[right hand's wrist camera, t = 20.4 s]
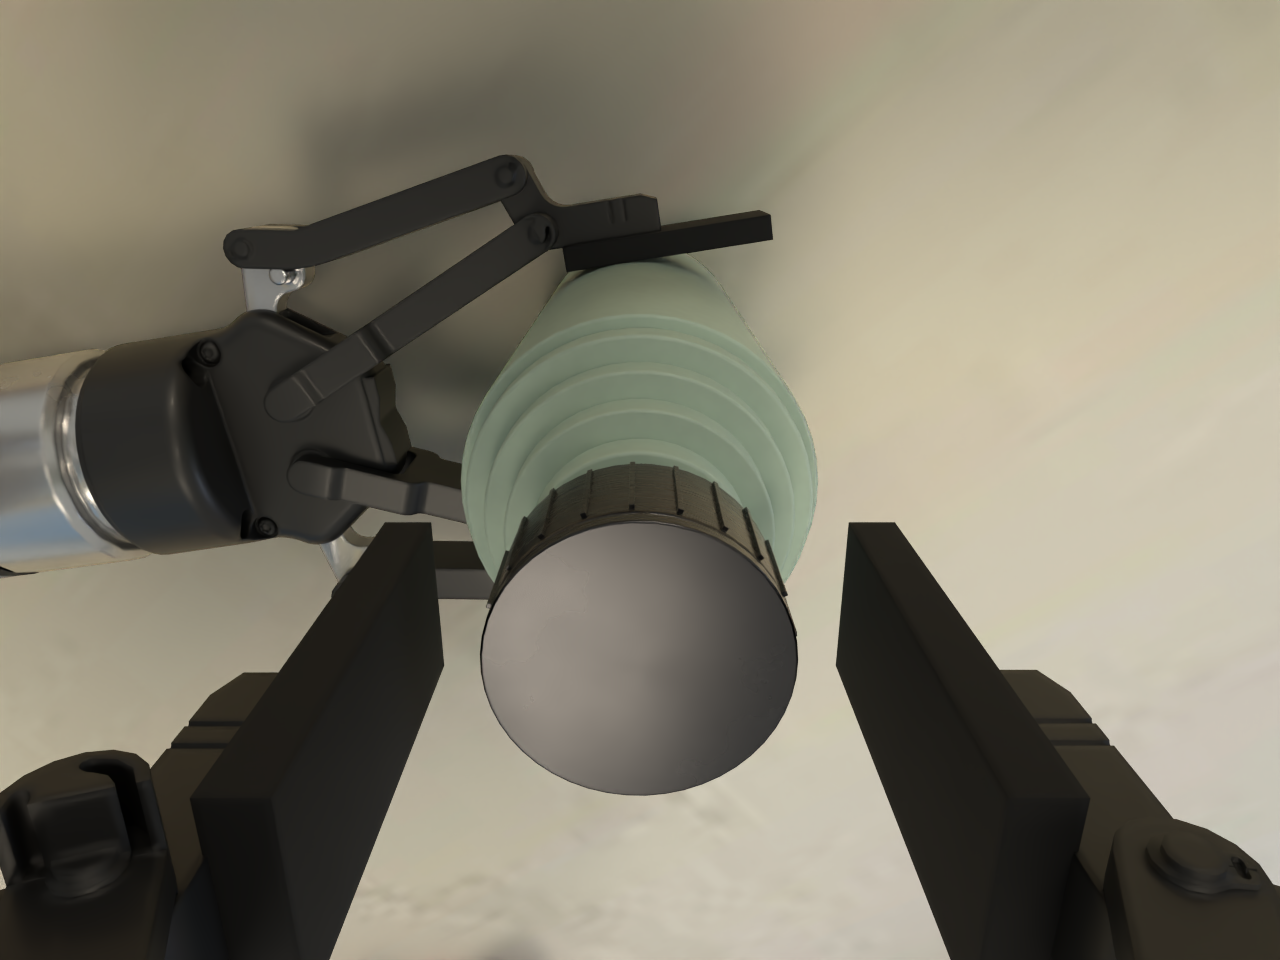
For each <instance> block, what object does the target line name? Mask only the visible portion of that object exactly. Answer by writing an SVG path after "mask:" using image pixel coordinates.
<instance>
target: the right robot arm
mask: <svg viewBox="0 0 1280 960" xmlns="http://www.w3.org/2000/svg"><path fill="white" fill-rule="evenodd" d="M443 667H444V659H443V648H442V637H441V626H440V615H439V604H438V593H437V582H436V571H435V560H434V549H433V538H432V527H431V522H385V523H384V525H383V526H382V528H381V529H380V530H379V532H378V533H377V535H376V536H375V537H374V539H373V540H372V542H371V543H370V545H369V546H368V547H367V549H366V550H365V552H364V553H363V554H362V556H361V557H360V559H359V560H358V561H357V563H356V564H355V566H354V567H353V568H352V570H351V571H350V573H349V574H348V576H347V577H346V578H345V580H344V581H343V583H342V584H341V585H340V587H339V588H338V590H337V591H336V592H335V594H334V595H333V597H332V598H331V599H330V601H329V602H328V604H327V605H326V607H325V608H324V609H323V611H322V612H321V614H320V615H319V616H318V618H317V619H316V621H315V622H314V623H313V625H312V626H311V628H310V629H309V630H308V632H307V633H306V635H305V636H304V638H303V639H302V640H301V642H300V643H299V645H298V646H297V647H296V649H295V650H294V652H293V653H292V654H291V656H290V657H289V659H288V660H287V661H286V663H285V664H284V666H283V667H282V669H281V670H280V671H279V673H242V674H241V675H239V676H238V677H236V678H235V679H233V680H232V681H230V682H229V683H227V684H226V685H224V686H223V687H221V688H220V689H218V690H217V691H215V692H214V693H212V694H211V695H210V696H209V697H208V698H207V699H206V701H205V702H204V703H203V704H202V706H201V707H200V708H199V709H198V711H197V712H196V713H195V714H194V716H193V717H192V718H191V719H190V721H189V726H185V727H184V728H183V729H182V730H181V732H180V733H179V734H178V735H177V737H176V738H175V739H174V740H173V742H172V743H171V748H170V749H166V750H165V751H164V753H163V754H162V755H161V756H160V758H159V759H158V760H157V761H156V763H155V764H154V765H153V766H152V767H151V769H150V767H149V764H148V763H147V762H146V761H144V760H143V759H142V758H141V757H139V756H138V755H137V754H134V753H129V752H123V751H118V750H106V751H95V752H85V753H81V754H78V755H74V756H71V757H67V758H64V759H60V760H57V761H54V762H51V763H49V764H47V765H45V766H43V767H41V768H39V769H37V770H35V771H33V772H31V773H28V774H26V775H24V776H23V777H21V778H20V779H19V780H17V781H16V782H14V783H13V784H12V785H10V786H9V787H8V788H6V789H5V790H3V791H2V792H1V793H0V868H1V871H2V874H3V877H4V880H5V883H6V886H7V887H6V889H2V890H0V960H329V959H330V957H331V954H332V951H333V949H334V946H335V944H336V941H337V939H338V936H339V934H340V931H341V928H342V926H343V923H344V921H345V918H346V916H347V913H348V910H349V908H350V905H351V903H352V900H353V898H354V895H355V893H356V890H357V887H358V885H359V882H360V880H361V877H362V875H363V872H364V869H365V867H366V864H367V862H368V859H369V857H370V854H371V852H372V849H373V846H374V844H375V841H376V839H377V836H378V834H379V831H380V828H381V826H382V823H383V821H384V818H385V816H386V813H387V811H388V808H389V805H390V803H391V800H392V798H393V795H394V793H395V790H396V787H397V785H398V782H399V780H400V777H401V775H402V772H403V770H404V767H405V764H406V762H407V759H408V757H409V754H410V752H411V749H412V746H413V744H414V741H415V739H416V736H417V734H418V731H419V729H420V726H421V723H422V721H423V718H424V716H425V713H426V711H427V708H428V705H429V703H430V700H431V698H432V695H433V693H434V690H435V687H436V685H437V682H438V680H439V677H440V675H441V672H442V670H443ZM836 667H837V670H838V672H839V675H840V677H841V680H842V682H843V685H844V687H845V690H846V693H847V695H848V698H849V700H850V703H851V705H852V708H853V711H854V713H855V716H856V718H857V721H858V723H859V726H860V729H861V731H862V734H863V736H864V739H865V741H866V744H867V746H868V749H869V752H870V754H871V757H872V759H873V762H874V764H875V767H876V770H877V772H878V775H879V777H880V780H881V782H882V785H883V787H884V790H885V793H886V795H887V798H888V800H889V803H890V805H891V808H892V811H893V813H894V816H895V818H896V821H897V823H898V826H899V828H900V831H901V834H902V836H903V839H904V841H905V844H906V846H907V849H908V852H909V854H910V857H911V859H912V862H913V864H914V867H915V869H916V872H917V875H918V877H919V880H920V882H921V885H922V887H923V890H924V893H925V895H926V898H927V900H928V903H929V905H930V908H931V910H932V913H933V916H934V918H935V921H936V923H937V926H938V928H939V931H940V934H941V936H942V939H943V941H944V944H945V946H946V949H947V951H948V954H949V957H950V959H951V960H1280V886H1277V885H1274V884H1272V882H1271V881H1270V879H1269V878H1268V876H1267V875H1266V873H1265V872H1264V870H1263V869H1262V867H1261V866H1260V864H1258V863H1257V862H1256V861H1255V860H1254V859H1252V858H1251V857H1250V856H1249V855H1248V854H1246V853H1245V852H1244V851H1243V850H1242V849H1240V848H1239V847H1238V846H1237V845H1236V844H1234V843H1232V842H1230V841H1228V840H1226V839H1225V838H1223V837H1221V836H1219V835H1217V834H1215V833H1213V832H1212V831H1210V830H1208V829H1205V828H1202V827H1199V826H1196V825H1193V824H1190V823H1187V822H1184V821H1181V820H1177V819H1173V818H1172V816H1171V815H1170V814H1169V813H1168V812H1167V810H1166V809H1165V808H1164V807H1163V805H1162V804H1161V803H1160V802H1159V800H1158V799H1157V798H1156V797H1155V796H1154V794H1153V793H1152V792H1151V791H1150V789H1149V788H1148V787H1147V786H1146V784H1145V783H1144V782H1143V781H1142V780H1141V778H1140V777H1139V776H1138V775H1137V773H1136V772H1135V771H1134V770H1133V768H1132V767H1131V766H1130V765H1129V764H1128V762H1127V761H1126V760H1125V759H1124V757H1123V756H1122V755H1121V754H1120V753H1119V751H1118V750H1117V749H1116V748H1115V746H1110V743H1109V739H1108V738H1107V737H1106V735H1105V734H1104V733H1103V732H1102V730H1101V729H1100V728H1099V727H1098V725H1097V724H1092V718H1091V717H1090V716H1089V714H1088V713H1087V712H1086V711H1085V710H1084V708H1083V707H1082V706H1081V705H1080V703H1079V702H1078V701H1077V700H1076V698H1075V697H1074V696H1073V695H1072V694H1071V692H1069V691H1068V690H1066V689H1065V688H1063V687H1062V686H1060V685H1059V684H1057V683H1056V682H1054V681H1053V680H1051V679H1050V678H1048V677H1047V676H1045V675H1044V674H1042V673H1041V672H1039V671H1038V670H999V669H998V667H997V666H996V664H995V663H994V661H993V660H992V659H991V657H990V656H989V654H988V653H987V652H986V650H985V649H984V647H983V646H982V645H981V643H980V642H979V640H978V639H977V638H976V636H975V635H974V633H973V632H972V630H971V629H970V628H969V626H968V625H967V623H966V622H965V621H964V619H963V618H962V616H961V615H960V614H959V612H958V611H957V609H956V608H955V607H954V605H953V604H952V602H951V601H950V599H949V598H948V597H947V595H946V594H945V592H944V591H943V590H942V588H941V587H940V585H939V584H938V583H937V581H936V580H935V578H934V577H933V576H932V574H931V573H930V571H929V570H928V568H927V567H926V566H925V564H924V563H923V561H922V560H921V559H920V557H919V556H918V554H917V553H916V552H915V550H914V549H913V547H912V546H911V545H910V543H909V542H908V540H907V539H906V537H905V536H904V535H903V533H902V532H901V530H900V529H899V528H898V526H897V525H896V523H895V522H849V527H848V538H847V549H846V560H845V571H844V582H843V593H842V604H841V615H840V626H839V637H838V648H837V659H836Z"/></svg>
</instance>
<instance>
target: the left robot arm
mask: <svg viewBox="0 0 1280 960" xmlns="http://www.w3.org/2000/svg"><path fill="white" fill-rule="evenodd" d="M499 201H501V202H502V204H503V205H504V207H505V209H506V211H507V212H508V214H509V216H510V218H511V219H512V221H513V223H514V225H513V226H511V227H510V228H508V229H507V230H505V231H504V232H502V233H501V234H499V235H498V236H497V237H495V238H494V239H492V240H491V241H489V242H488V243H486V244H485V245H483V246H482V247H480V248H479V249H477V250H476V251H474V252H473V253H472V254H470V255H469V256H467V257H466V258H464V259H463V260H461V261H460V262H458V263H457V264H455V265H454V266H452V267H451V268H449V269H448V270H446V271H445V272H444V273H442V274H441V275H439V276H438V277H436V278H435V279H433V280H432V281H430V282H429V283H427V284H426V285H424V286H423V287H421V288H420V289H419V290H417V291H416V292H414V293H413V294H411V295H410V296H408V297H407V298H405V299H404V300H402V301H401V302H399V303H398V304H396V305H395V306H393V307H392V308H391V309H389V310H388V311H386V312H385V313H383V314H382V315H380V316H379V317H377V318H376V319H374V320H373V321H371V322H370V323H368V324H367V325H365V326H364V327H362V328H361V329H359V330H358V331H356V332H355V333H353V334H352V335H350V336H349V337H347V336H345V335H343V334H341V333H339V332H337V331H335V330H333V329H331V328H329V327H326V326H324V325H322V324H320V323H318V322H316V321H314V320H312V319H310V318H308V317H306V316H304V315H302V314H299V313H297V312H295V311H293V310H291V309H289V308H287V300H288V297H289V295H290V294H291V293H292V292H293V291H296V290H299V289H301V288H304V287H306V286H308V285H310V284H311V282H312V281H313V279H314V276H315V266H316V265H320V264H323V263H326V262H330V261H333V260H336V259H339V258H342V257H345V256H349V255H351V254H354V253H357V252H360V251H363V250H365V249H368V248H371V247H374V246H377V245H379V244H382V243H385V242H388V241H390V240H393V239H396V238H399V237H402V236H404V235H407V234H410V233H413V232H416V231H418V230H421V229H424V228H427V227H429V226H432V225H435V224H438V223H441V222H443V221H446V220H449V219H452V218H455V217H457V216H460V215H463V214H466V213H469V212H471V211H474V210H477V209H480V208H482V207H485V206H488V205H491V204H494V203H496V202H499ZM767 240H773V234H772V224H771V215H770V214H768V213H765V212H763V211H760V210H757V211H750V212H744V213H738V214H732V215H726V216H719V217H713V218H707V219H701V220H695V221H688V222H682V223H676V224H670V225H663V226H661V224H660V217H659V210H658V203H657V198H656V197H653V196H648V195H644V194H634V195H628V196H622V197H616V198H610V199H603V200H597V201H591V202H585V203H579V204H573V205H562V204H558V203H556V202H554V201H553V200H552V199H550V198H549V197H548V195H547V194H546V193H545V191H544V189H543V187H542V186H541V184H540V182H539V180H538V178H537V177H536V175H535V173H534V169H533V167H532V165H531V163H530V162H529V161H528V160H527V159H525V158H524V157H521V156H517V155H501V156H497V157H494V158H491V159H488V160H486V161H483V162H480V163H478V164H475V165H472V166H469V167H467V168H464V169H461V170H458V171H456V172H453V173H450V174H447V175H445V176H442V177H439V178H436V179H434V180H431V181H428V182H425V183H423V184H420V185H417V186H415V187H412V188H409V189H406V190H404V191H401V192H398V193H395V194H393V195H390V196H387V197H384V198H382V199H379V200H376V201H373V202H371V203H368V204H365V205H363V206H360V207H357V208H354V209H352V210H349V211H346V212H343V213H341V214H338V215H335V216H332V217H330V218H327V219H324V220H321V221H319V222H316V223H313V224H310V225H287V224H268V225H262V226H255V227H249V228H244V229H238V230H233V231H231V232H230V233H229V234H227V235H226V237H225V239H224V243H223V250H224V253H225V256H226V257H227V259H228V260H229V261H230V262H231V263H232V264H234V265H235V266H237V267H240V268H241V270H242V277H243V285H244V293H245V300H246V308H247V312H245V313H243V314H242V315H240V316H239V317H238V318H237V319H236V320H235V321H233V322H232V323H231V324H230V325H229V326H227V327H225V328H221V329H215V330H208V331H202V332H196V333H189V334H183V335H177V336H170V337H164V338H158V339H151V340H145V341H139V342H132V343H126V344H121V345H117V346H115V347H113V348H110V349H109V350H107V351H104V350H97V349H88V350H82V351H76V352H69V353H63V354H57V355H51V356H45V357H39V358H33V359H27V360H21V361H15V362H8V363H2V364H0V578H5V577H12V576H17V575H27V574H35V573H39V572H46V571H53V570H61V569H69V568H76V567H84V566H91V565H99V564H107V563H114V562H122V561H130V560H135V559H140V558H145V557H147V556H148V555H150V554H152V553H154V554H160V555H166V554H175V553H182V552H189V551H196V550H203V549H210V548H217V547H224V546H230V545H237V544H244V543H251V542H256V541H261V540H266V539H270V538H276V537H287V538H293V539H297V540H300V541H303V542H306V543H310V544H319V545H320V547H321V549H322V551H323V553H324V555H325V557H326V559H327V561H328V563H329V565H330V567H331V569H332V570H333V572H334V574H335V576H336V578H337V580H338V584H337V585H336V586H335V588H334V589H333V591H332V595H331V597H333V595H334V594H335V592H336V591H337V590H338V588H339V587H340V585H341V584H342V583H343V581H344V580H345V578H346V577H347V576H348V574H349V573H350V571H351V570H352V568H353V567H354V566H355V564H356V563H357V561H358V560H359V559H360V557H361V556H362V554H363V553H364V552H365V550H366V549H367V547H368V546H369V545H370V543H371V542H372V540H373V539H374V537H365V536H361V535H359V534H357V533H356V532H355V531H354V530H353V528H352V527H351V525H352V524H353V523H354V522H355V521H356V520H357V519H358V518H359V517H360V516H361V515H362V514H363V513H364V512H365V511H366V510H367V509H368V508H369V507H372V508H376V509H380V510H384V511H389V512H393V513H397V514H402V515H413V514H417V513H423V514H428V515H432V516H436V517H441V518H445V519H449V520H453V521H458V522H462V523H466V524H467V522H466V517H465V512H464V507H463V503H462V490H461V470H462V464H460V463H456V462H452V461H448V460H444V459H442V458H440V457H439V456H438V455H437V454H436V453H434V452H431V451H427V450H423V449H419V448H415V447H411V443H410V439H409V435H408V431H407V427H406V425H405V423H404V421H403V420H402V418H401V416H400V414H399V413H398V411H397V409H396V406H395V381H394V377H393V373H392V369H391V365H390V364H386V365H385V364H384V363H383V360H385V359H386V358H387V357H389V356H390V355H392V354H393V353H395V352H396V351H398V350H399V349H401V348H402V347H404V346H405V345H407V344H408V343H410V342H411V341H413V340H414V339H416V338H417V337H419V336H420V335H422V334H423V333H425V332H426V331H428V330H429V329H431V328H432V327H434V326H435V325H437V324H438V323H440V322H441V321H443V320H444V319H446V318H447V317H449V316H450V315H452V314H453V313H455V312H456V311H458V310H459V309H461V308H462V307H464V306H465V305H467V304H468V303H470V302H471V301H473V300H474V299H476V298H477V297H479V296H480V295H482V294H483V293H485V292H486V291H488V290H489V289H491V288H492V287H494V286H495V285H497V284H498V283H500V282H501V281H503V280H504V279H506V278H507V277H509V276H510V275H512V274H513V273H515V272H516V271H518V270H519V269H521V268H522V267H524V266H525V265H527V264H528V263H530V262H531V261H533V260H534V259H536V258H537V257H539V256H540V255H542V254H543V253H545V252H546V251H548V250H551V249H558V248H563V254H564V259H565V265H566V270H567V272H572V271H578V270H584V269H591V268H597V267H603V266H610V265H615V264H622V263H629V262H635V261H641V260H647V259H654V258H660V257H666V256H673V255H679V254H685V253H692V252H698V251H704V250H710V249H717V248H723V247H729V246H736V245H742V244H748V243H755V242H761V241H767ZM433 549H434V560H435V571H436V582H437V593H438V599H486V600H489V597H490V594H491V591H492V588H493V585H494V582H493V581H492V579H491V578H490V576H489V575H488V573H487V571H486V569H485V568H484V566H483V564H482V562H481V560H480V558H479V556H478V553H477V550H476V548H475V545H474V542H472V541H433Z"/></svg>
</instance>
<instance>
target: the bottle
mask: <svg viewBox="0 0 1280 960" xmlns="http://www.w3.org/2000/svg"><path fill="white" fill-rule="evenodd" d="M630 462H635V464H641V463H642V464H655V465H662V466H669V467H673V466H678V467H679V469H680V470H684V471H688V472H690V473H692V474H695V475H697V476H700V477H702V478H704V479H706V480H708V481H710V482H711V483H713V481H715V482H717V483H718V486H719V487H720V488H721V489H723V490H724V491H725V492H727V493H728V494H729V495H730V496H732V497H733V498H734V499H735V500H736V501H737V502H738V503H739V504H740V505H741V506H742V507H743V508H745V507H747V508H748V509H749V510H750V514H751V517H752V519H753V520H754V522H755V523H756V524H757V526H758V528H759V530H760V532H761V533H762V535H763V537H764V539H765V540H769V542H770V545H771V547H772V550H773V553H774V556H775V559H776V562H777V565H778V568H779V571H780V574H781V577H782V580H783V582H784V583H785V582H786V580H787V579H788V578H789V576H790V574H791V572H792V571H793V569H794V567H795V565H796V563H797V561H798V559H799V557H800V555H801V552H802V549H803V547H804V544H805V541H806V539H807V535H808V533H809V530H810V527H811V524H812V520H813V515H814V511H815V506H816V499H817V486H818V476H817V460H816V455H815V450H814V445H813V440H812V436H811V434H810V431H809V428H808V425H807V422H806V419H805V417H804V415H803V413H802V411H801V409H800V407H799V405H798V403H797V401H796V400H795V398H794V396H793V394H792V393H791V391H790V390H789V388H788V387H787V385H786V384H785V382H784V381H783V379H782V378H781V376H780V375H779V373H778V372H777V370H776V369H775V367H774V366H773V364H772V363H771V361H770V360H769V358H768V357H767V355H766V354H765V352H764V350H763V349H762V347H761V346H760V344H759V343H758V341H757V340H756V338H755V337H754V335H753V334H752V332H751V331H750V329H749V328H748V326H747V325H746V323H745V322H744V320H743V319H742V317H741V316H740V314H739V313H738V311H737V310H736V308H735V307H734V305H733V304H732V302H731V301H730V299H729V297H728V296H727V294H726V293H725V291H724V290H723V288H722V287H721V286H720V284H719V283H718V281H717V280H716V279H715V277H714V276H713V275H712V274H711V273H710V272H709V271H708V270H707V269H706V267H704V266H703V265H702V264H701V263H699V262H698V261H697V260H696V259H694V258H693V257H691V256H689V255H688V254H686V253H685V254H679V255H673V256H666V257H660V258H654V259H647V260H641V261H635V262H629V263H622V264H615V265H610V266H603V267H597V268H591V269H584V270H578V271H572V272H569V273H568V274H567V275H566V276H565V277H564V279H563V280H562V282H561V283H560V284H559V286H558V287H557V289H556V290H555V292H554V293H553V295H552V296H551V298H550V299H549V301H548V302H547V304H546V305H545V307H544V308H543V310H542V311H541V313H540V314H539V316H538V317H537V319H536V320H535V322H534V323H533V325H532V326H531V328H530V329H529V331H528V332H527V334H526V335H525V337H524V338H523V340H522V341H521V343H520V344H519V346H518V347H517V349H516V350H515V352H514V353H513V355H512V356H511V358H510V359H509V361H508V362H507V364H506V365H505V367H504V368H503V370H502V371H501V373H500V374H499V376H498V377H497V379H496V380H495V382H494V383H493V385H492V386H491V388H490V389H489V391H488V392H487V394H486V395H485V397H484V399H483V401H482V403H481V405H480V406H479V408H478V410H477V412H476V414H475V416H474V419H473V421H472V424H471V427H470V430H469V432H468V435H467V439H466V443H465V448H464V453H463V458H462V470H461V490H462V503H463V507H464V512H465V517H466V522H467V525H468V528H469V531H470V533H471V537H472V539H473V542H474V545H475V548H476V550H477V553H478V556H479V558H480V560H481V562H482V564H483V566H484V568H485V569H486V571H487V573H488V575H489V576H490V578H491V579H492V581H493V582H495V579H496V576H497V574H498V571H499V568H500V565H501V562H502V559H503V556H504V553H505V551H506V550H507V551H509V550H510V548H511V545H512V543H513V540H514V538H515V536H516V534H517V531H518V528H519V525H520V522H521V519H522V518H523V517H524V516H525V517H528V515H529V514H530V513H531V512H532V510H533V509H534V508H535V507H536V506H537V505H538V504H539V503H540V502H541V501H542V500H543V499H544V498H545V497H547V496H548V495H549V492H550V490H551V489H553V488H554V489H555V490H556V489H557V488H559V487H560V486H562V485H563V484H565V483H567V482H569V481H571V480H572V479H574V478H576V477H578V476H581V475H583V474H586V473H587V470H590V469H592V470H593V471H594V470H597V469H601V468H606V467H610V466H615V465H624V464H630Z"/></svg>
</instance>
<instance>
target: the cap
mask: <svg viewBox="0 0 1280 960" xmlns="http://www.w3.org/2000/svg"><path fill="white" fill-rule="evenodd" d="M787 595H788V594H787V591H786V588H785V585H784V582H783V580H782V577H781V574H780V571H779V568H778V565H777V562H776V559H775V556H774V553H773V550H772V547H771V545H770V542H769V540H765V539H764V537H763V535H762V533H761V532H760V530H759V528H758V526H757V524H756V523H755V522H754V520H753V519H752V517H751V514H750V510H749V509H748V508H747V507H745V508H743V507H742V506H741V505H740V504H739V503H738V502H737V501H736V500H735V499H734V498H733V497H732V496H730V495H729V494H728V493H727V492H725V491H724V490H723V489H721V488H720V487H719V486H718V483H717V482H715V481H713V483H711V482H710V481H708V480H706V479H704V478H702V477H700V476H697V475H695V474H692V473H690V472H688V471H684V470H680V469H679V467H678V466H673V467H669V466H662V465H655V464H642V463H641V464H635V462H630V464H624V465H615V466H610V467H606V468H601V469H597V470H594V471H593V470H592V469H590V470H587V473H586V474H583V475H581V476H578V477H576V478H574V479H572V480H571V481H569V482H567V483H565V484H563V485H562V486H560V487H559V488H557V489H556V490H555V489H554V488H553V489H551V490H550V492H549V495H548V496H547V497H545V498H544V499H543V500H542V501H541V502H540V503H539V504H538V505H537V506H536V507H535V508H534V509H533V510H532V512H531V513H530V514H529V515H528V517H525V516H524V517H523V518H522V519H521V522H520V525H519V528H518V531H517V534H516V536H515V538H514V540H513V543H512V545H511V548H510V550H509V551H507V550H506V551H505V553H504V556H503V559H502V562H501V565H500V568H499V571H498V574H497V576H496V579H495V582H494V585H493V588H492V591H491V594H490V597H489V600H488V602H487V606H486V608H489V609H490V610H489V612H488V615H487V618H486V622H485V626H484V630H483V634H482V640H481V650H480V664H481V675H482V680H483V685H484V690H485V693H486V695H487V698H488V701H489V704H490V707H491V709H492V710H493V712H494V714H495V716H496V718H497V720H498V722H499V724H500V725H501V726H502V728H503V729H504V731H505V732H506V733H507V735H508V736H509V737H510V739H511V740H512V741H513V742H514V743H515V744H516V745H517V746H518V747H519V748H520V749H521V750H522V751H523V752H524V753H525V754H526V755H527V756H529V757H530V758H531V759H532V760H533V761H535V762H536V763H537V764H539V765H540V766H542V767H543V768H545V769H546V770H548V771H550V772H551V773H553V774H555V775H557V776H559V777H561V778H563V779H565V780H567V781H569V782H572V783H574V784H577V785H580V786H583V787H586V788H589V789H593V790H597V791H601V792H606V793H613V794H621V795H644V796H646V795H657V794H667V793H672V792H677V791H682V790H686V789H689V788H692V787H695V786H698V785H702V784H704V783H706V782H709V781H711V780H713V779H715V778H718V777H720V776H722V775H723V774H725V773H727V772H728V771H730V770H732V769H734V768H735V767H737V766H738V765H739V764H741V763H742V762H743V761H745V760H746V759H747V758H749V757H750V756H751V755H752V754H753V753H754V752H755V751H756V750H757V749H758V748H759V747H760V746H761V745H762V744H763V743H764V742H765V741H766V740H767V739H768V737H769V736H770V735H771V734H772V732H773V731H774V730H775V728H776V727H777V725H778V723H779V722H780V720H781V718H782V717H783V715H784V713H785V711H786V709H787V706H788V704H789V701H790V699H791V696H792V693H793V689H794V685H795V681H796V676H797V666H798V649H797V639H796V636H797V631H796V628H795V625H794V622H793V619H792V616H791V613H790V610H789V607H788V604H787V601H786V598H785V596H787Z"/></svg>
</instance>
